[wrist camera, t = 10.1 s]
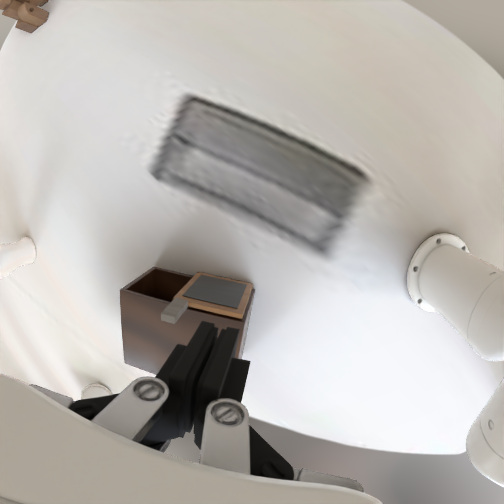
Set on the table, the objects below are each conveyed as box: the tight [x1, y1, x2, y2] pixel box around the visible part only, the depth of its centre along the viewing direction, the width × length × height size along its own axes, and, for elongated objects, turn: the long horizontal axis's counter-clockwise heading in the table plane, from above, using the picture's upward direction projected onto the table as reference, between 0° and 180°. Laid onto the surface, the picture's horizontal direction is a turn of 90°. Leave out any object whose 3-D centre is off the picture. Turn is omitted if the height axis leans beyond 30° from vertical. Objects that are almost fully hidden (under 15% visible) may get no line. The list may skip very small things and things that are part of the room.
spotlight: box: [81, 384, 113, 399], centre depth 49 cm, size 8×11×8 cm
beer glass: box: [0, 237, 36, 280], centre depth 37 cm, size 7×7×15 cm
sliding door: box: [161, 272, 253, 324], centre depth 33 cm, size 1×8×14 cm, turn 80°
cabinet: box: [120, 267, 255, 375], centre depth 37 cm, size 12×16×10 cm
